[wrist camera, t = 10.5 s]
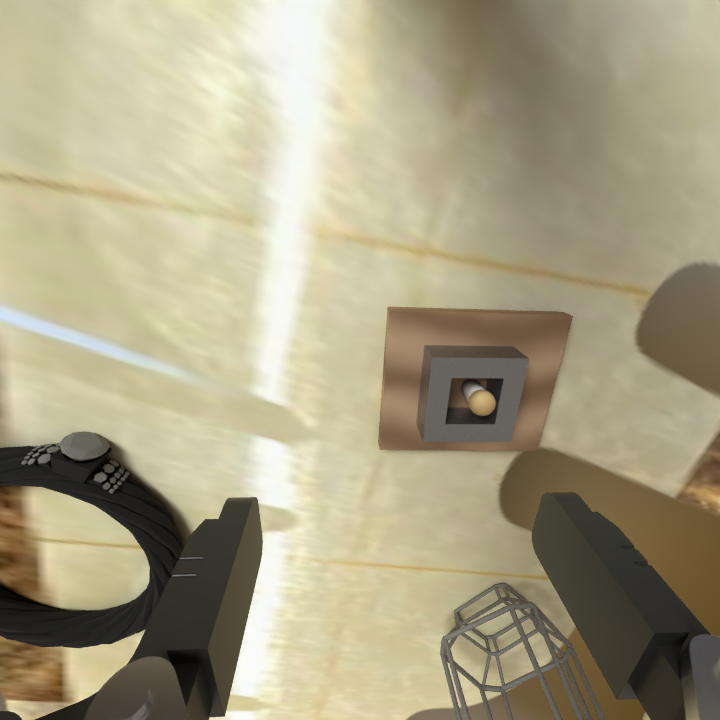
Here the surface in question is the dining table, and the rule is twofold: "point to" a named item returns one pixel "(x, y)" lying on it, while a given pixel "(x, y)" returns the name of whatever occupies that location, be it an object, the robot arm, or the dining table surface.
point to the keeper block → (468, 328)
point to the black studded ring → (119, 500)
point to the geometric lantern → (538, 671)
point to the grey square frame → (460, 422)
